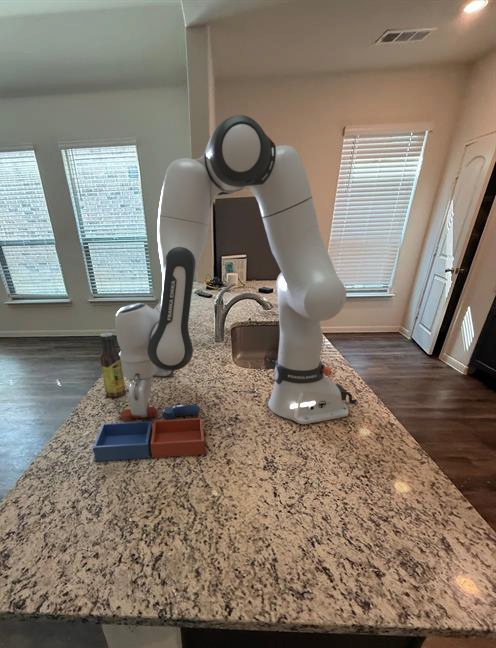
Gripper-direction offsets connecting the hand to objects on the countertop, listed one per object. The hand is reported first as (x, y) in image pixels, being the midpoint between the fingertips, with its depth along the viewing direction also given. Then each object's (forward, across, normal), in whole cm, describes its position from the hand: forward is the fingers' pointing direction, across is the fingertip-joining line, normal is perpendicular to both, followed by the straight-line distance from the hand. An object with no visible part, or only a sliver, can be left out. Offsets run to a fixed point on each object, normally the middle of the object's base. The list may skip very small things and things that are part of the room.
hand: (145, 411), depth 88 cm
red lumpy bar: (+2, 0, +2) cm, 3 cm away
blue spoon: (+2, 0, -10) cm, 10 cm away
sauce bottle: (+2, +15, +11) cm, 19 cm away
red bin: (+2, -13, -10) cm, 16 cm away
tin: (+2, +27, -1) cm, 27 cm away
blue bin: (+2, -13, +4) cm, 14 cm away
